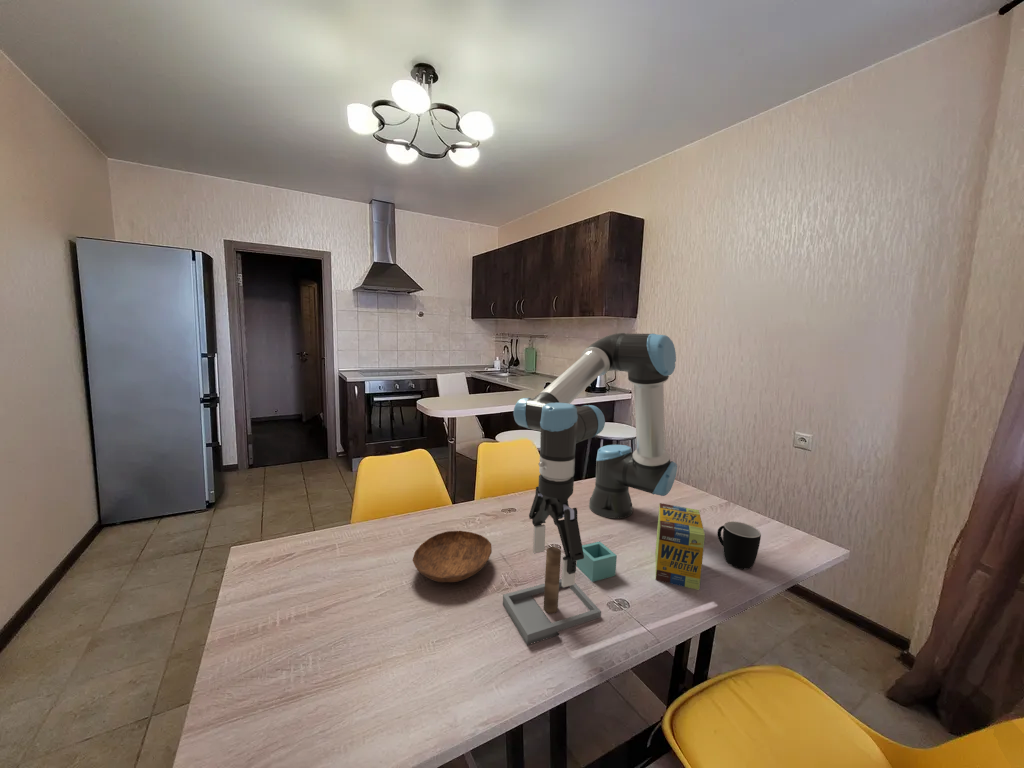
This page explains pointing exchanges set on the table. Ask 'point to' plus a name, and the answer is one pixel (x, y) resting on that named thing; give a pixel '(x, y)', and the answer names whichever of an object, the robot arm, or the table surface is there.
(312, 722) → the table surface
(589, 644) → the table surface
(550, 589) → the dowel
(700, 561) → the protein box
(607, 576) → the teal square container
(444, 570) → the bowl
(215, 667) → the table surface
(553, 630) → the tray
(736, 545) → the mug
